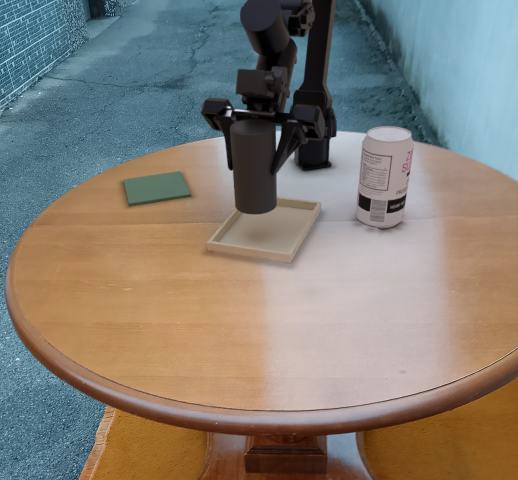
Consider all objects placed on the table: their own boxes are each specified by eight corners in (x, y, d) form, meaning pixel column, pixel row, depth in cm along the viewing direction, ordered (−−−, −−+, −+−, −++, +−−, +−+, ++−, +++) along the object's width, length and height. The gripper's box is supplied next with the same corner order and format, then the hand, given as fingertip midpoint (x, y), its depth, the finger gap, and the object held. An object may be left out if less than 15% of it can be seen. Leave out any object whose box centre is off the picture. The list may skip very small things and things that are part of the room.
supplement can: (351, 210, 98) (357, 126, 88) (395, 207, 99) (407, 123, 89) (361, 231, 92) (369, 144, 82) (408, 228, 92) (422, 140, 83)
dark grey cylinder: (270, 193, 90) (268, 116, 82) (282, 210, 85) (281, 130, 77) (231, 199, 89) (225, 121, 81) (240, 217, 84) (235, 136, 76)
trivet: (180, 173, 114) (180, 170, 113) (191, 196, 105) (190, 193, 105) (123, 182, 111) (123, 179, 111) (129, 206, 103) (128, 203, 102)
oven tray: (248, 202, 102) (248, 193, 101) (321, 212, 98) (321, 202, 97) (207, 252, 88) (206, 242, 87) (290, 265, 84) (290, 254, 83)
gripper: (198, 39, 78) (174, 142, 77) (323, 44, 72) (299, 154, 72) (224, 82, 88) (203, 173, 88) (334, 89, 83) (313, 186, 82)
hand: (251, 171), depth 82 cm, fingers closed on dark grey cylinder, 7 cm apart
